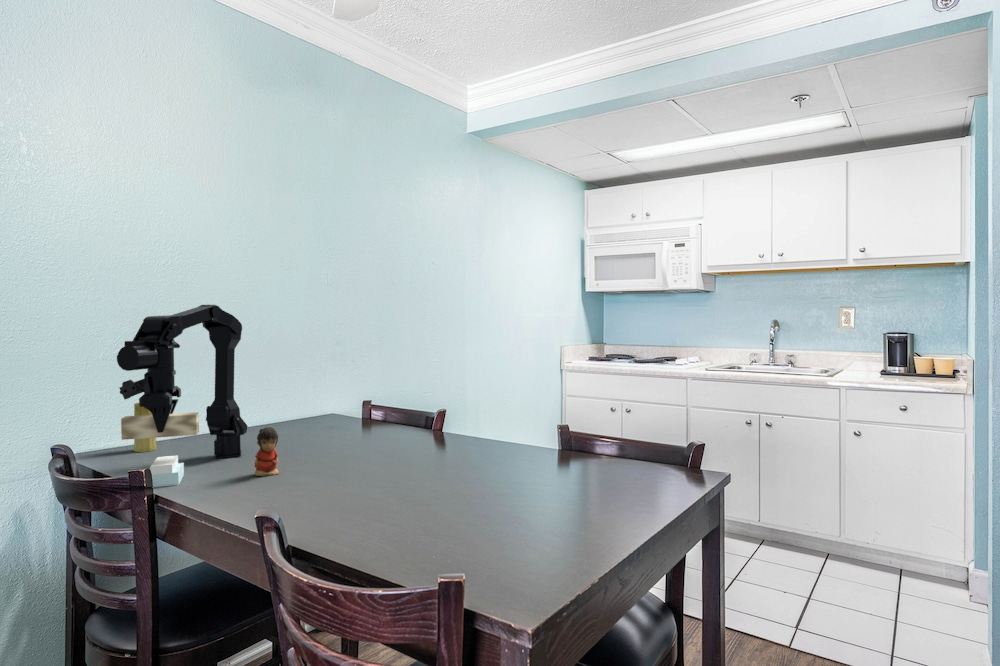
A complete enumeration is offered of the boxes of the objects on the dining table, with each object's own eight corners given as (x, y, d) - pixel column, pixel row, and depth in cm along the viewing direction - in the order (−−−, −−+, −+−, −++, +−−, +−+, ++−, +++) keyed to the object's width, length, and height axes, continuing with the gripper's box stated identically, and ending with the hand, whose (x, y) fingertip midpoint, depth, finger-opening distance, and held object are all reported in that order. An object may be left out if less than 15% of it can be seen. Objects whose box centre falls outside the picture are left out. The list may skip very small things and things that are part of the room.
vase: (161, 447, 181) (160, 401, 180) (147, 452, 175) (146, 404, 174) (143, 447, 181) (141, 401, 181) (128, 452, 175) (127, 404, 175)
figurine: (248, 475, 149) (247, 428, 148) (266, 470, 154) (265, 424, 153) (265, 478, 146) (265, 430, 145) (283, 472, 151) (282, 426, 150)
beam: (199, 432, 149) (198, 412, 149) (196, 434, 145) (196, 414, 145) (126, 436, 144) (125, 416, 144) (121, 439, 140) (121, 418, 140)
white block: (184, 474, 150) (183, 454, 150) (178, 484, 141) (178, 464, 141) (152, 477, 147) (152, 457, 147) (144, 488, 138) (144, 466, 138)
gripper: (131, 365, 150) (132, 426, 150) (112, 371, 133) (113, 440, 133) (180, 364, 154) (181, 423, 154) (168, 369, 136) (169, 436, 137)
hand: (162, 430), depth 144 cm, fingers closed on beam, 4 cm apart
